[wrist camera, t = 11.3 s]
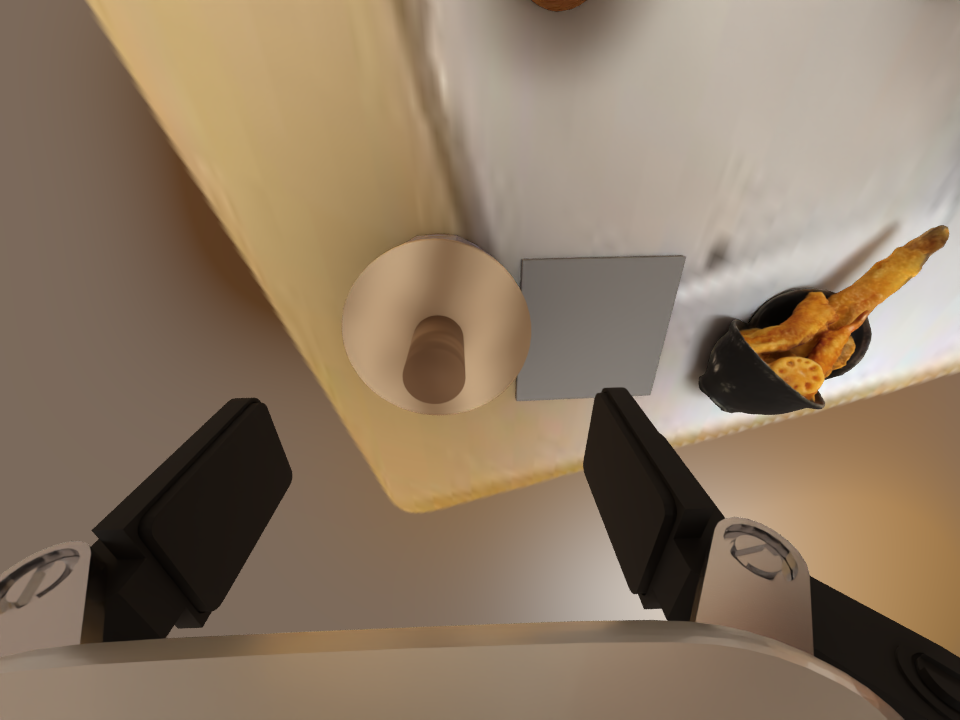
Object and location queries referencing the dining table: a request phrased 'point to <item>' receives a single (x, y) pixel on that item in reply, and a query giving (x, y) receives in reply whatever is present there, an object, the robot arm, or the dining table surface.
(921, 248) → the black dish with food
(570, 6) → the disposable coffee cup
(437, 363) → the lid
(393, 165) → the dining table surface
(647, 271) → the mat
